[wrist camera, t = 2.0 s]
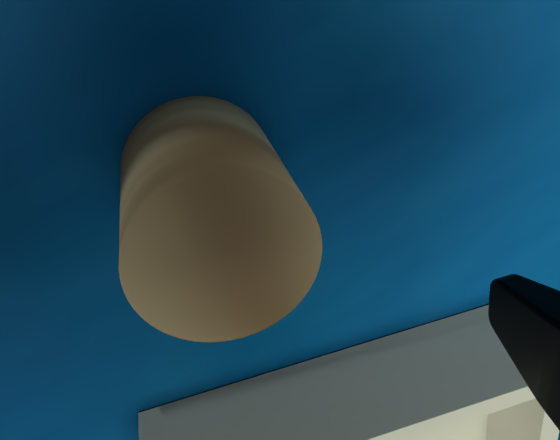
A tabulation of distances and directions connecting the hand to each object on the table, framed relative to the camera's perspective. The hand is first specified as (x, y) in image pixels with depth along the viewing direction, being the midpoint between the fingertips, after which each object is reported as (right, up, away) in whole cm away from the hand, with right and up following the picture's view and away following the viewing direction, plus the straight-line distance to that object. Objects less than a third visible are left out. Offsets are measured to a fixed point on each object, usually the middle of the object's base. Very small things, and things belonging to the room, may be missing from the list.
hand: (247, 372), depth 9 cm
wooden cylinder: (-2, +4, +7) cm, 8 cm away
